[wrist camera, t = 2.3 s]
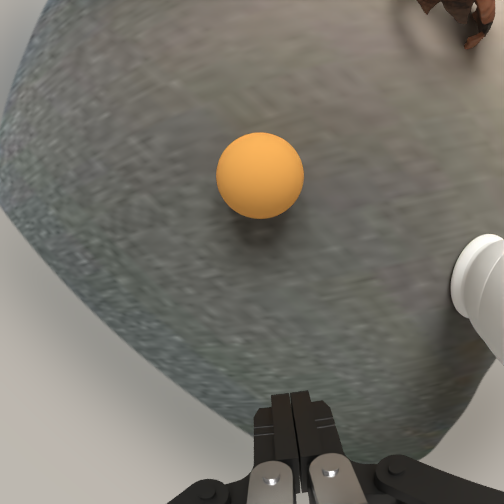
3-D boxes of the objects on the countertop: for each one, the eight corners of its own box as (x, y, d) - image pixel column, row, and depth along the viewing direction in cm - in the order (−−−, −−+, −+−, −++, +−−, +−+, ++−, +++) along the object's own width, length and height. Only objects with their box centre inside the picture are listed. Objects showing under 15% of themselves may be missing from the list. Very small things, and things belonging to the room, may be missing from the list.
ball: (209, 154, 22) (196, 147, 17) (281, 127, 22) (290, 113, 16) (237, 224, 23) (232, 238, 18) (307, 198, 23) (324, 205, 18)
